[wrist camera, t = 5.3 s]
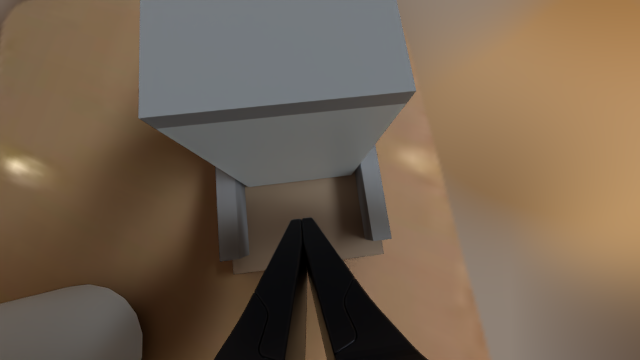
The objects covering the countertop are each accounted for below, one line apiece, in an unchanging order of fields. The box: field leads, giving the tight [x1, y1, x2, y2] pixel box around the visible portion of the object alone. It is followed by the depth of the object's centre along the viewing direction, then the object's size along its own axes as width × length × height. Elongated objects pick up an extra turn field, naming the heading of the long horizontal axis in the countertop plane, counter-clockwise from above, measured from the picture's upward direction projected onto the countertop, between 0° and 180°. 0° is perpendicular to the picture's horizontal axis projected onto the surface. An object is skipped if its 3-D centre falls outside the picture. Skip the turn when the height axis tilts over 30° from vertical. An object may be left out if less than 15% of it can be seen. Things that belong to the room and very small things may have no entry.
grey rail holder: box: [215, 145, 392, 274], centre depth 15 cm, size 16×9×4 cm, turn 7°
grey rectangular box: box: [139, 0, 416, 187], centre depth 11 cm, size 6×6×10 cm
